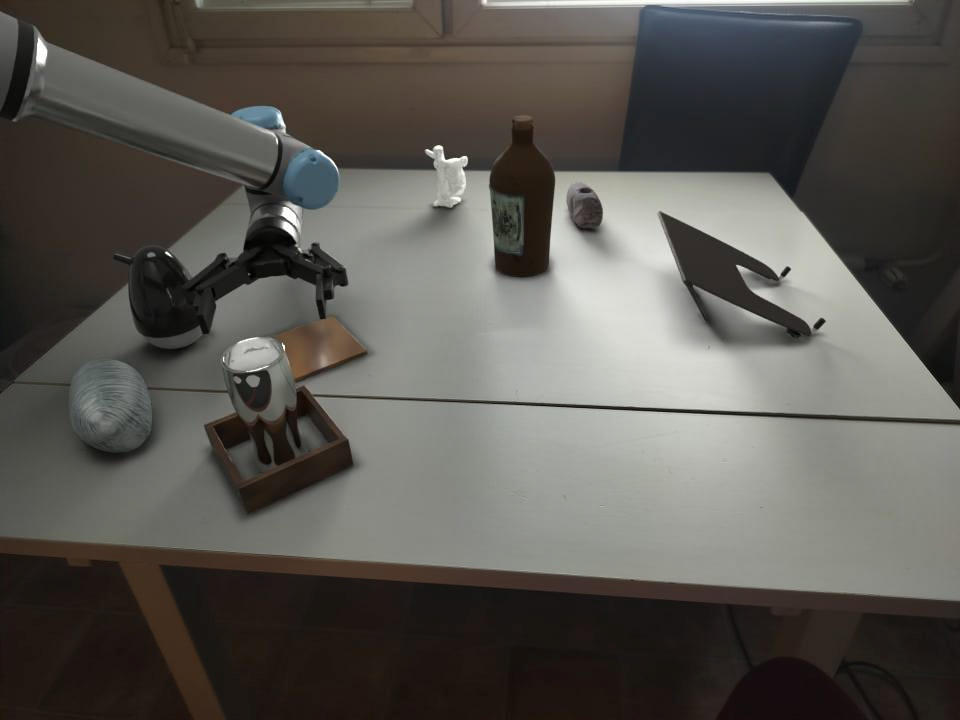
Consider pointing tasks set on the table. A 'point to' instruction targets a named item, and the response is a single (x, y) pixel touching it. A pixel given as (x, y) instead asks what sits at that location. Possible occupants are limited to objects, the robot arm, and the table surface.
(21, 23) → the robot arm
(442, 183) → the white irregular figure
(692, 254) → the laptop tray
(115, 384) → the grey ovoid lump
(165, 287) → the pump dispenser
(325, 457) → the frame
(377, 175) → the table surface
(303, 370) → the cork mat
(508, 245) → the olive oil
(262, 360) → the beer glass
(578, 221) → the perforated stone tool
